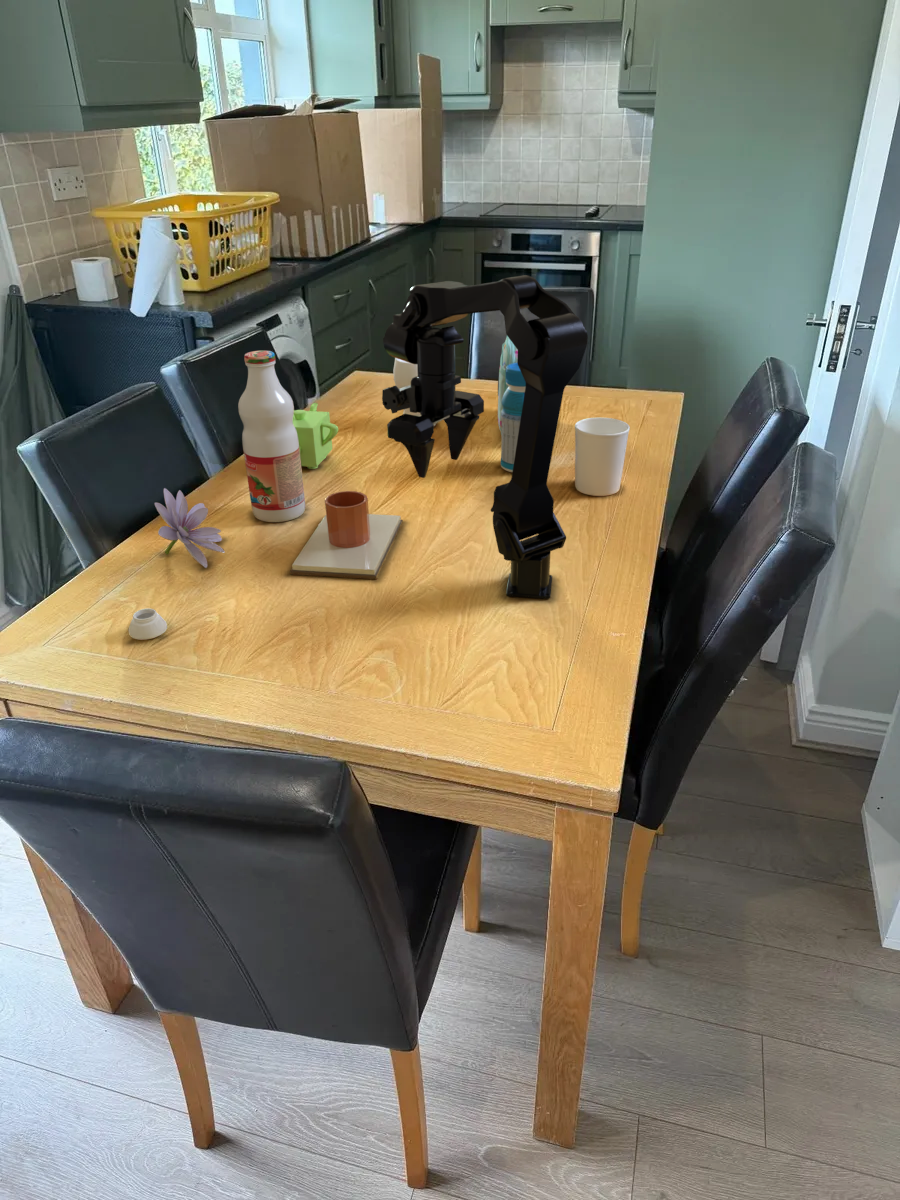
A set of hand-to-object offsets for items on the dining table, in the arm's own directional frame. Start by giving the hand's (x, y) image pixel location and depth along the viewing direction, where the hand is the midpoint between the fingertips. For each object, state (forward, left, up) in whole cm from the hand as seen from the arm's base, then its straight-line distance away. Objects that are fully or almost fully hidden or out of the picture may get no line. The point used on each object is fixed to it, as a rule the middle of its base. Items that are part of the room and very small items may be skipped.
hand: (438, 468), depth 135 cm
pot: (-6, +14, -10) cm, 18 cm away
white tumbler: (+24, -26, -12) cm, 38 cm away
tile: (-6, +14, -12) cm, 19 cm away
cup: (+57, +14, -12) cm, 60 cm away
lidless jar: (-35, +35, -12) cm, 51 cm away
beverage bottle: (+33, -11, -12) cm, 37 cm away
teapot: (+31, +33, -12) cm, 47 cm away
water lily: (-12, +38, -12) cm, 42 cm away
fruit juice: (+6, +30, -12) cm, 33 cm away
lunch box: (+58, -9, -12) cm, 60 cm away
